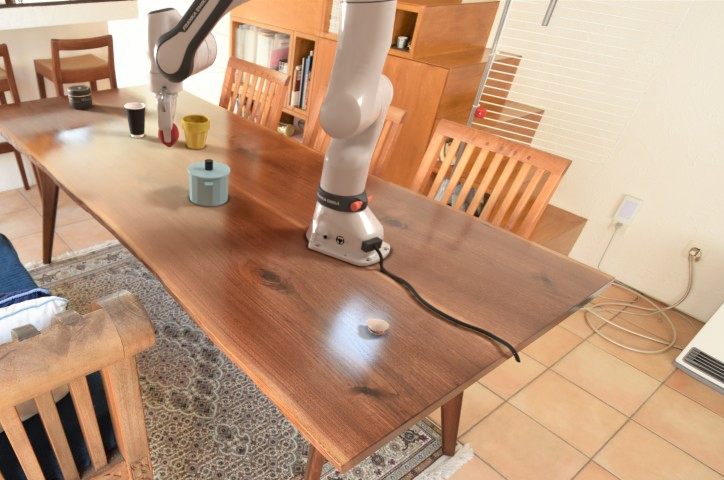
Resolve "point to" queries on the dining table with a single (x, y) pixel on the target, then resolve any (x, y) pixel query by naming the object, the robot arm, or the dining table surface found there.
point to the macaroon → (377, 326)
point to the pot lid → (208, 169)
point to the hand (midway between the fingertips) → (168, 137)
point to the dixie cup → (136, 118)
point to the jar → (80, 97)
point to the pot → (208, 191)
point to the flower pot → (195, 130)
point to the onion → (173, 136)
